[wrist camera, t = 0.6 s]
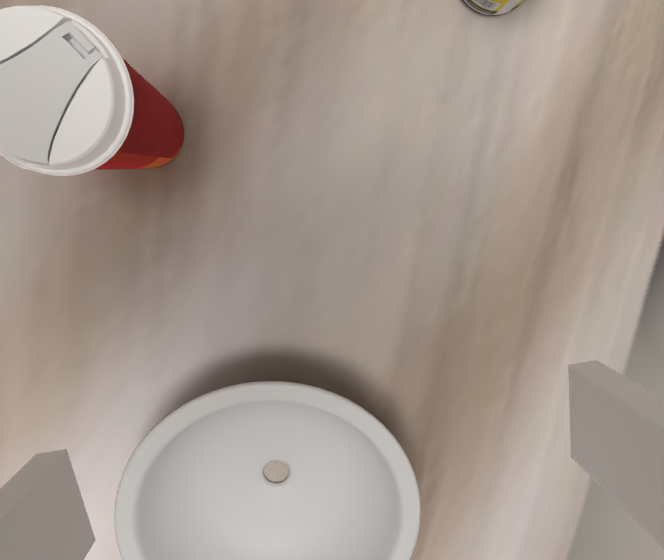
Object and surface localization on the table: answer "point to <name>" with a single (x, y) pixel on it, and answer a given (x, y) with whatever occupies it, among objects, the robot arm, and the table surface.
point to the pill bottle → (493, 6)
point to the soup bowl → (261, 494)
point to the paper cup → (76, 99)
